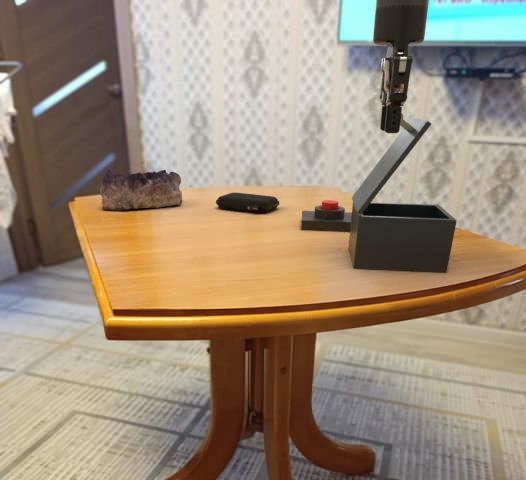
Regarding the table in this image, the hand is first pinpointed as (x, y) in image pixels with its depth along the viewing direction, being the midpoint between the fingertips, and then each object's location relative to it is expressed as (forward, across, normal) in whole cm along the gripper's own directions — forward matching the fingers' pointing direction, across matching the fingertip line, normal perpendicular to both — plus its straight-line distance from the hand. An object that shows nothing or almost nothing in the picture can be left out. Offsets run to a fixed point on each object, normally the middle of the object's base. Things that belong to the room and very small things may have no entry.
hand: (389, 131), depth 82 cm
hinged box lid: (+5, 0, -1) cm, 5 cm away
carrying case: (+21, +39, +28) cm, 52 cm away
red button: (+18, +24, +8) cm, 31 cm away
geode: (+20, +37, +54) cm, 69 cm away
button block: (+21, +24, +8) cm, 33 cm away
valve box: (+21, 0, -3) cm, 22 cm away
